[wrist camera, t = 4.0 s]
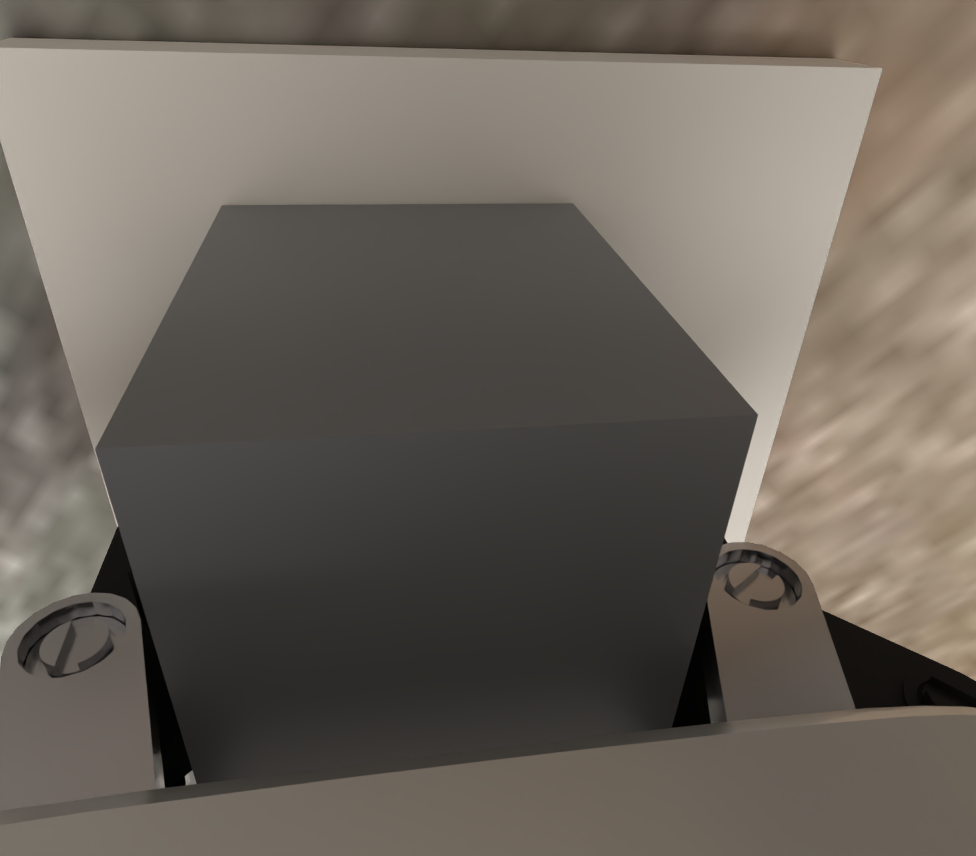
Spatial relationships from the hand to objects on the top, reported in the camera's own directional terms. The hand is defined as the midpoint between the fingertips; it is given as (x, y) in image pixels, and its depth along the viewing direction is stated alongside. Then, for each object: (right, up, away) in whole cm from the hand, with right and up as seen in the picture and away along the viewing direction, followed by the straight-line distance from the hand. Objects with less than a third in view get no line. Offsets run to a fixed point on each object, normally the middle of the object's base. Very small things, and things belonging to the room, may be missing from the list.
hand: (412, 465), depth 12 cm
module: (0, 0, +1) cm, 1 cm away
